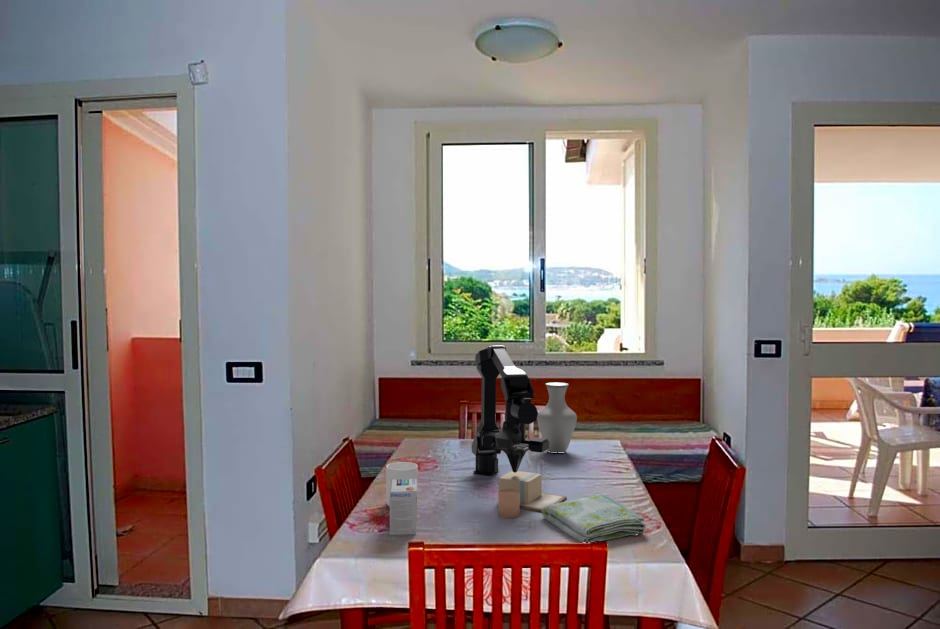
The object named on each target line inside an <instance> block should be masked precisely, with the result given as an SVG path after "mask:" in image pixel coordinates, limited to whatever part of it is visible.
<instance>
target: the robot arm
mask: <svg viewBox="0 0 940 629" xmlns="http://www.w3.org/2000/svg"><path fill="white" fill-rule="evenodd" d="M474 356H475V358H474V360H475V361H474V362H475V365H476V370H477V372H478V373H479V375H480V377H481V398H480V399H481V401H480V402H481V406H480V408H481V409H480V410H481V412H480V416H481V417H480V420H481V421H480V423H479V425H478V426H477V428H476V430H475V436H474V439H473V441H472V444H471V453H472V454H473V455H474V456H475V470H473V471H472V473H473V472H474V473H473V474H477V473H480V474H479V475H484V474H487V475H486V476H492V475H494V474H496V473H498V472H499V471H500V469H499V458H498V455H501V454H502V451H503V452H504V454H505V455H506V457H507V459H508V461H509V464H510V467H511V471H513V472H515V473H516V472H517V471H519V469H520V466H521V464H522V461H523V459H524V456H525V455H526V453H527V452H528V451H530V452H534V453H544V452H546V451H547V449H549V441H548V439H546V438H542V437H534V438H532V439H527V438H528V434H526V425H530V424H533V423H534V422H535V421H537V416H538V412H539V411H538V409H537V406H536V405H535V404H533V403H532V399H534V398H535V396H534V393H535V390H534V387H533V385H532V382H531V378H530V376H528V374H527V373H526V372H525V371H524V370H523V369H521V368H519V367H517V366H515V363H514V362H513V360H512V358H511V357H510V355H509V353H508V352H507V348H506V346H505V345H503V344H501V345H497V344H496V345H489V346H488V347H486V348H484V349H481V350H479V351H477V353H476V354H475V355H474ZM499 375H500V376H501V378H500V389H501V390H502V393H503V396H504V400H505V401H504V403H505V405H504V408H505V409H504V421H502V428H501V429H499V427H498V426H497V424H496V423H497V422H496V420H497V418H496V417H497V378H498V377H499ZM498 470H499V471H498ZM497 471H498V472H497ZM495 472H496V473H495ZM493 473H494V474H493ZM491 474H492V475H491Z"/></svg>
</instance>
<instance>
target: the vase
mask: <svg viewBox="0 0 940 629" xmlns="http://www.w3.org/2000/svg"><path fill="white" fill-rule="evenodd" d="M545 385H546V389H547V392H548V397H549V398H548V402H547V404H546V405H545V406H544V407H543V408H542V409H541V410H539V411H538V416H537V418H536V422H537V425H538V428H539V432H540V436H541V438H546V439H548V441H549V449H547V450H546V451H547V452H548V451H550V452H557V453H558V452H565V451H566V452H567V450H568V448H569V445H570V443H571V441H572V438H573V434H574V431H575V427H576V425H577V420H578V416H577V413H576V412H575V411H573V409H571V408H570V407H569V406H568V405H567V402H566V398H565V396H566V392H567V389H568V387H569V383H566V382H556V381H555V382H547V383H545Z"/></svg>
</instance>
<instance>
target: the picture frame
mask: <svg viewBox="0 0 940 629" xmlns="http://www.w3.org/2000/svg"><path fill="white" fill-rule="evenodd" d="M567 497H568V496H565V495H557V494H552V493H546V492H542V495H541V496H539V497H538V498H537V499H535V500H534V501H532V502H531V503H529V504H526V503H520V509H521V510H527V511H533V512H539V513H542V509H543V508H544V507H546V506H548V505H553V504H556V503H561V502H565V501H567V499H568V498H567Z"/></svg>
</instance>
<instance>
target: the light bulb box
mask: <svg viewBox="0 0 940 629" xmlns="http://www.w3.org/2000/svg"><path fill="white" fill-rule="evenodd" d="M417 518H418V501H417V479H399V480H391V489H390V507H389V535H390V536H397V535H398V536H399V535H400V536H402V535H403V536H405V535H408V534H409V535H417V526H418V525H417V524H418V522H417V520H418V519H417Z"/></svg>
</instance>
